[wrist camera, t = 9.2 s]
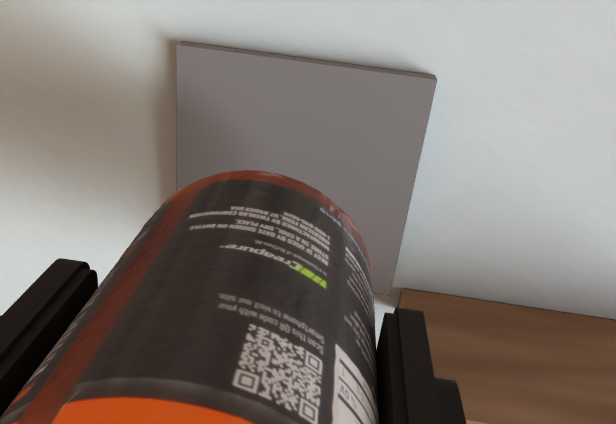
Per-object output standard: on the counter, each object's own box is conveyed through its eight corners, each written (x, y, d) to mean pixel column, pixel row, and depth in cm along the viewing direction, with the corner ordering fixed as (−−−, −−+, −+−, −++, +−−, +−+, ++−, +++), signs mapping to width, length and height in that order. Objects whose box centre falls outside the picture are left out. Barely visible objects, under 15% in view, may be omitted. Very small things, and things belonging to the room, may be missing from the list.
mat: (182, 41, 17) (176, 44, 17) (435, 75, 17) (437, 79, 16) (181, 255, 21) (176, 263, 20) (388, 286, 20) (389, 295, 20)
